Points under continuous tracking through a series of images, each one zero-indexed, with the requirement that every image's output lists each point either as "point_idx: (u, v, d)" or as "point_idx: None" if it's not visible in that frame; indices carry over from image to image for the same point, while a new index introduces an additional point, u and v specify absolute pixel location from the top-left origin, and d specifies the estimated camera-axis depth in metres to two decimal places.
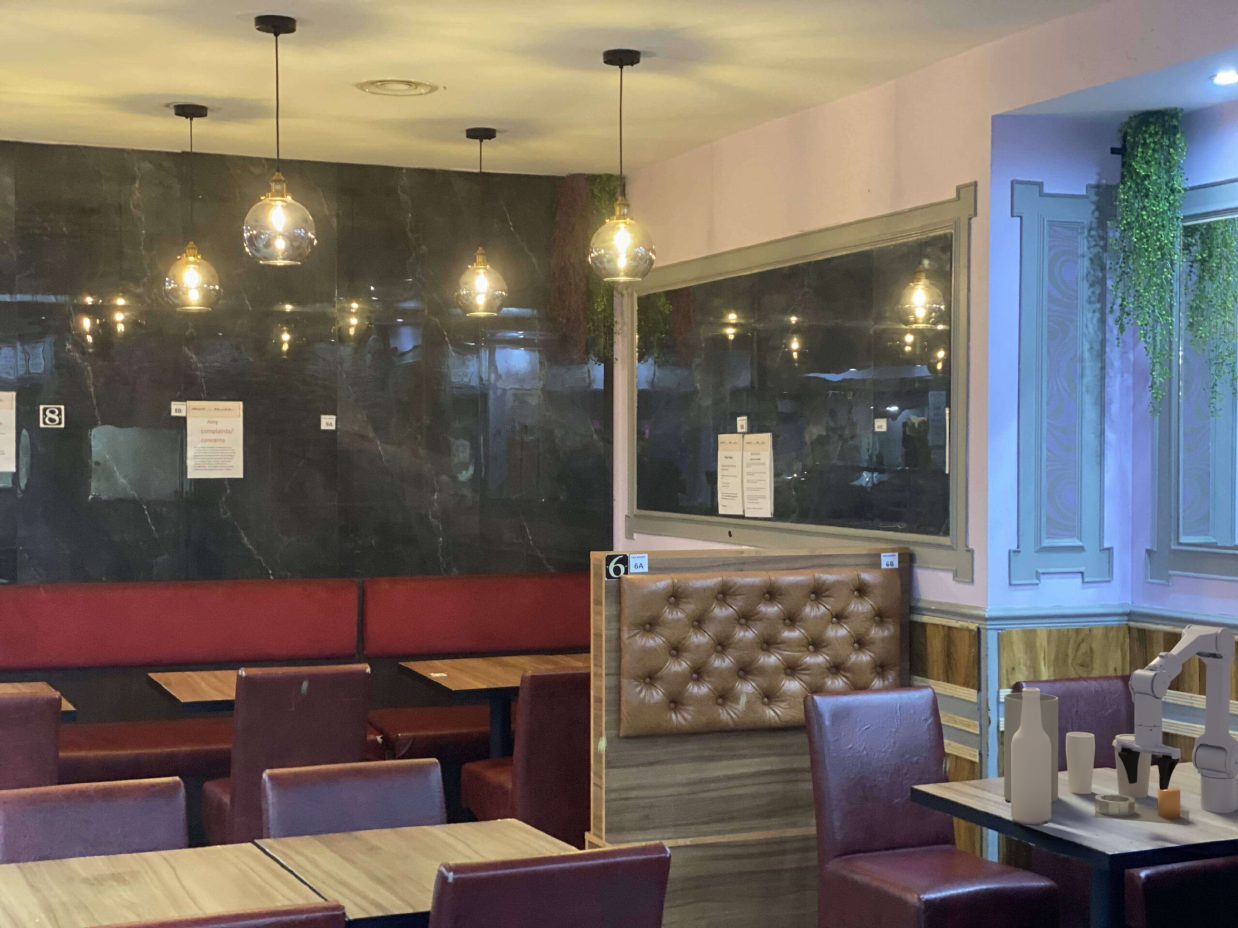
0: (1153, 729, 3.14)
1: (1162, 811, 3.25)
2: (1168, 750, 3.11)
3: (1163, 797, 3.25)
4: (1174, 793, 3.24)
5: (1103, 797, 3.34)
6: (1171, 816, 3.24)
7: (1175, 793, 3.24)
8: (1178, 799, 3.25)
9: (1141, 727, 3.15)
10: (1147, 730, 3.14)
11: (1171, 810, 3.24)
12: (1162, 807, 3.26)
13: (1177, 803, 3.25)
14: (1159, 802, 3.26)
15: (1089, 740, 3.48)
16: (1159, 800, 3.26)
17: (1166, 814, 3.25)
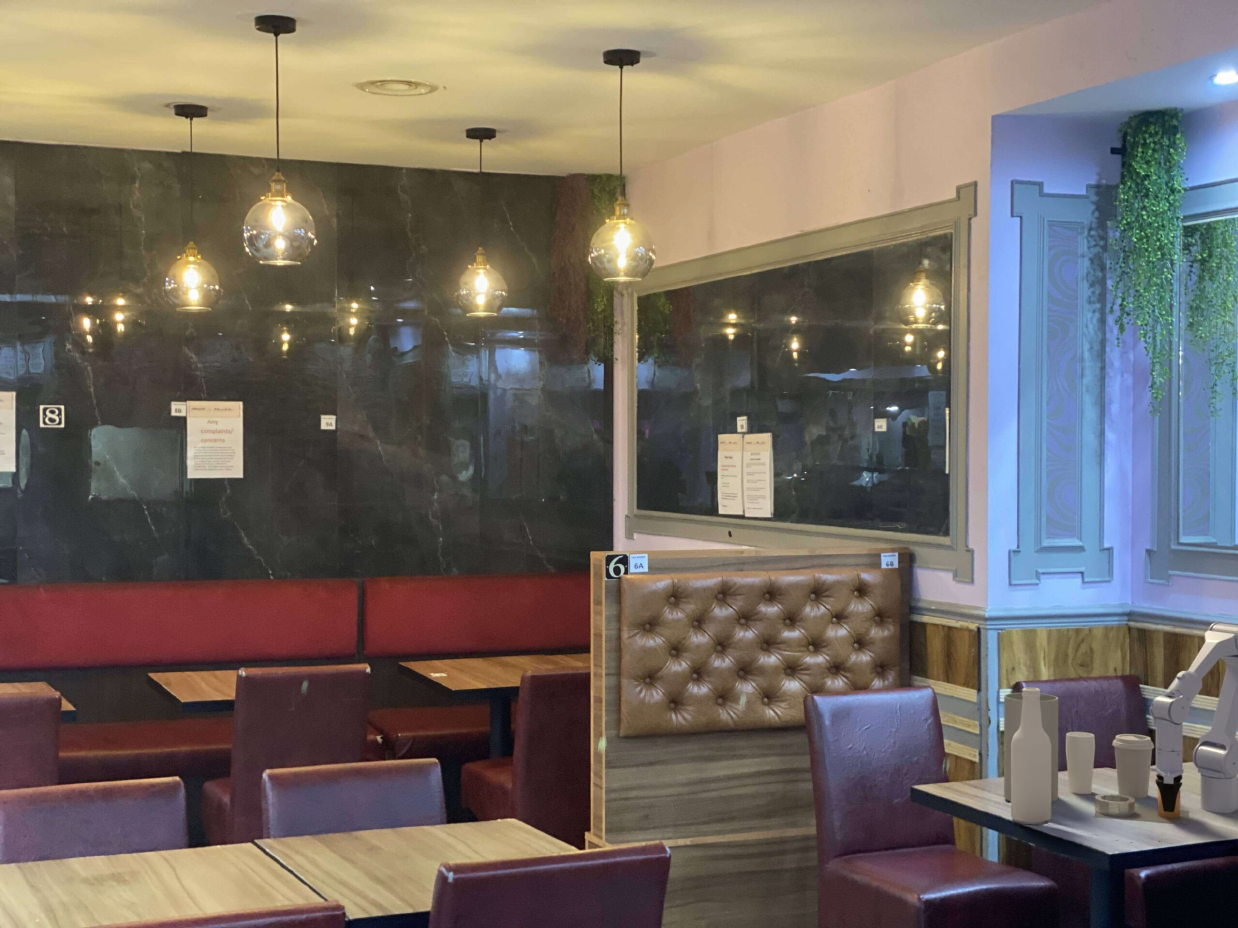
0: (1161, 753, 3.25)
1: (1162, 811, 3.25)
2: (1163, 774, 3.22)
3: None
4: None
5: (1103, 797, 3.34)
6: (1171, 816, 3.24)
7: None
8: (1178, 799, 3.25)
9: None
10: (1157, 753, 3.26)
11: None
12: (1162, 807, 3.26)
13: (1177, 803, 3.25)
14: (1159, 802, 3.26)
15: (1089, 740, 3.48)
16: (1159, 800, 3.26)
17: (1166, 814, 3.25)
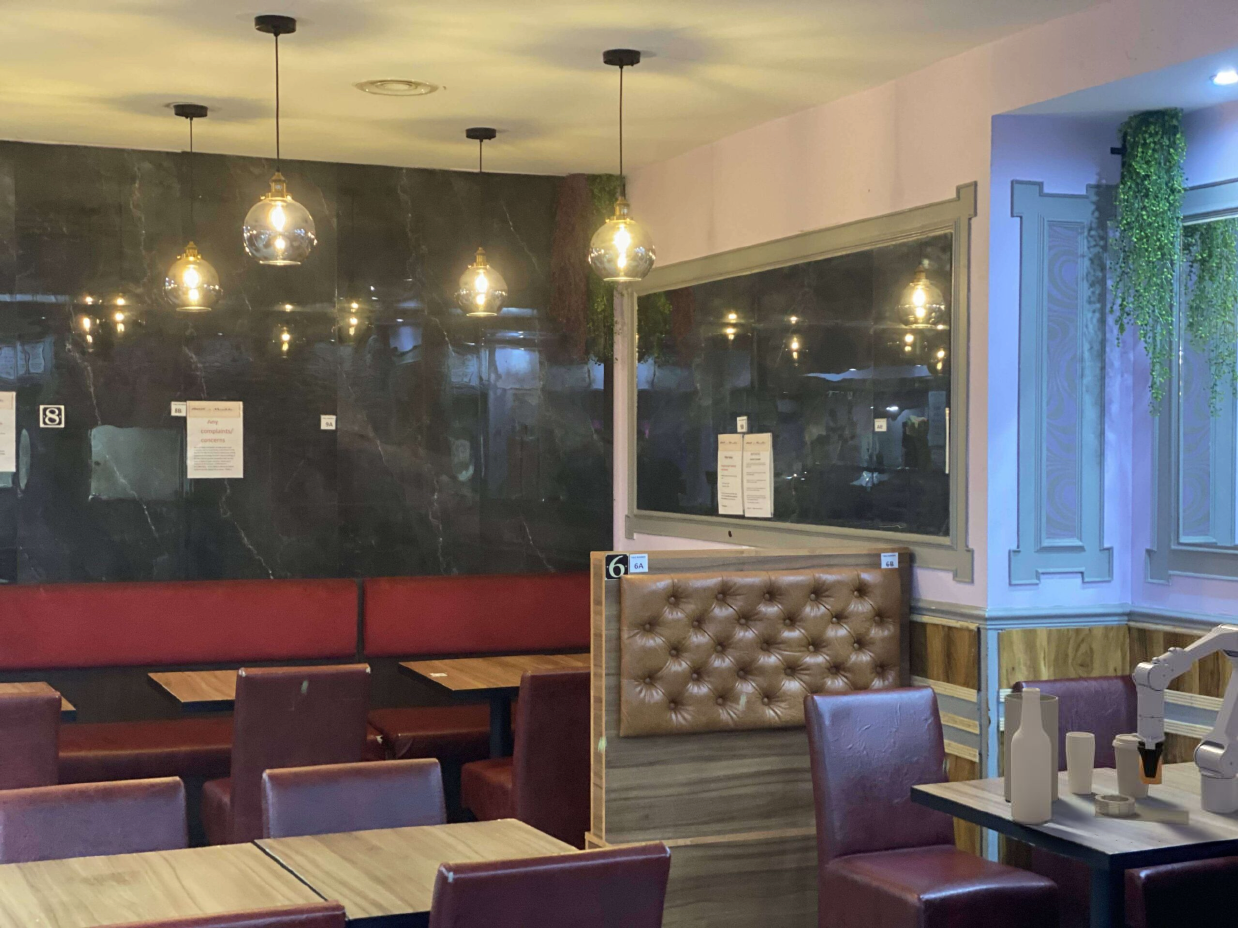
0: (1143, 719, 3.27)
1: (1144, 777, 3.27)
2: (1144, 740, 3.23)
3: None
4: None
5: (1103, 797, 3.34)
6: (1152, 782, 3.26)
7: None
8: (1160, 765, 3.26)
9: None
10: (1139, 719, 3.28)
11: None
12: (1143, 773, 3.27)
13: (1159, 769, 3.26)
14: (1141, 768, 3.28)
15: (1089, 740, 3.48)
16: (1141, 766, 3.28)
17: (1147, 780, 3.26)
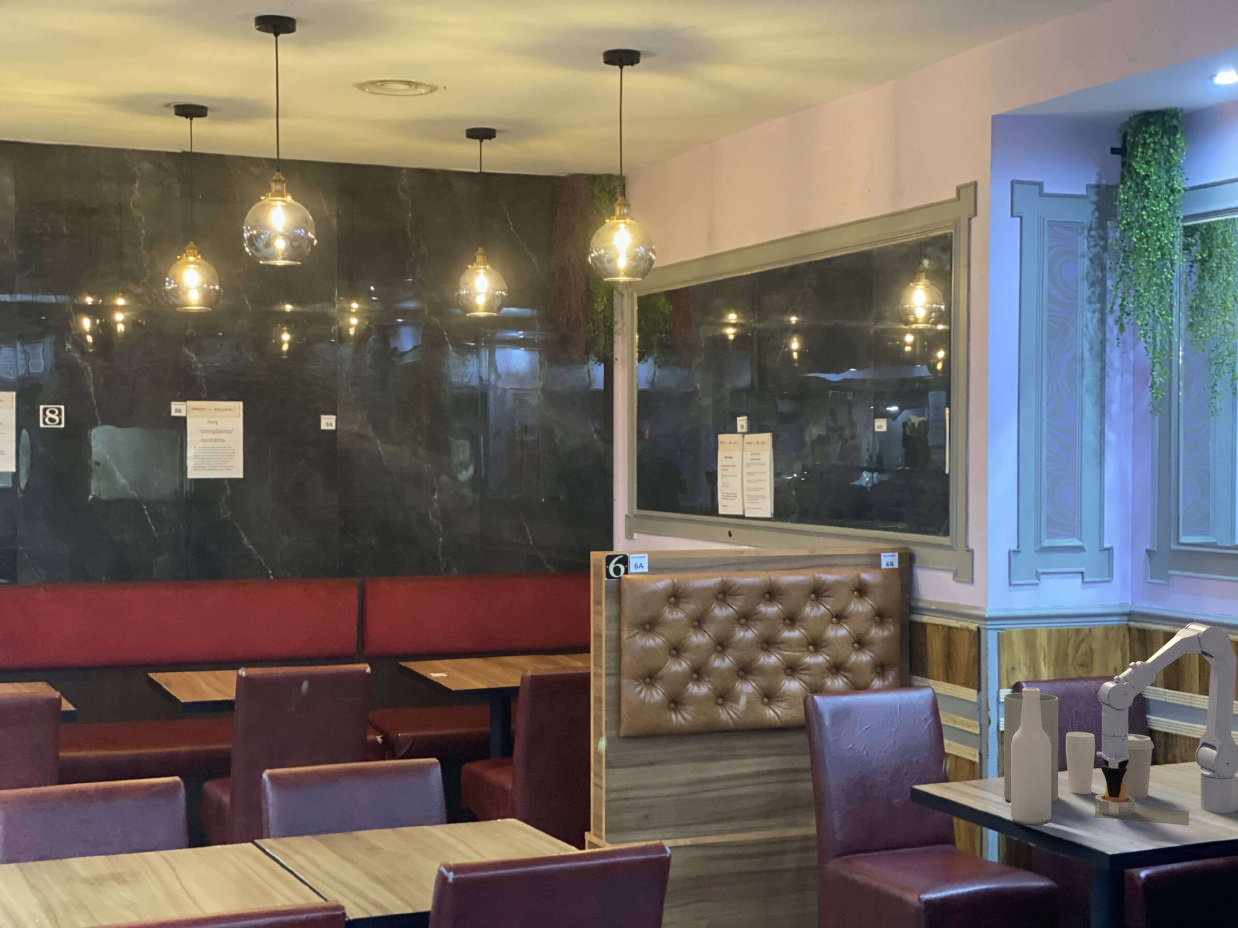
0: (1107, 738, 3.30)
1: None
2: (1108, 759, 3.26)
3: None
4: (1121, 788, 3.29)
5: (1103, 797, 3.34)
6: None
7: (1122, 788, 3.29)
8: (1125, 794, 3.29)
9: (1102, 735, 3.32)
10: (1103, 738, 3.31)
11: None
12: None
13: (1123, 798, 3.29)
14: (1106, 796, 3.31)
15: (1089, 740, 3.48)
16: (1106, 794, 3.31)
17: None
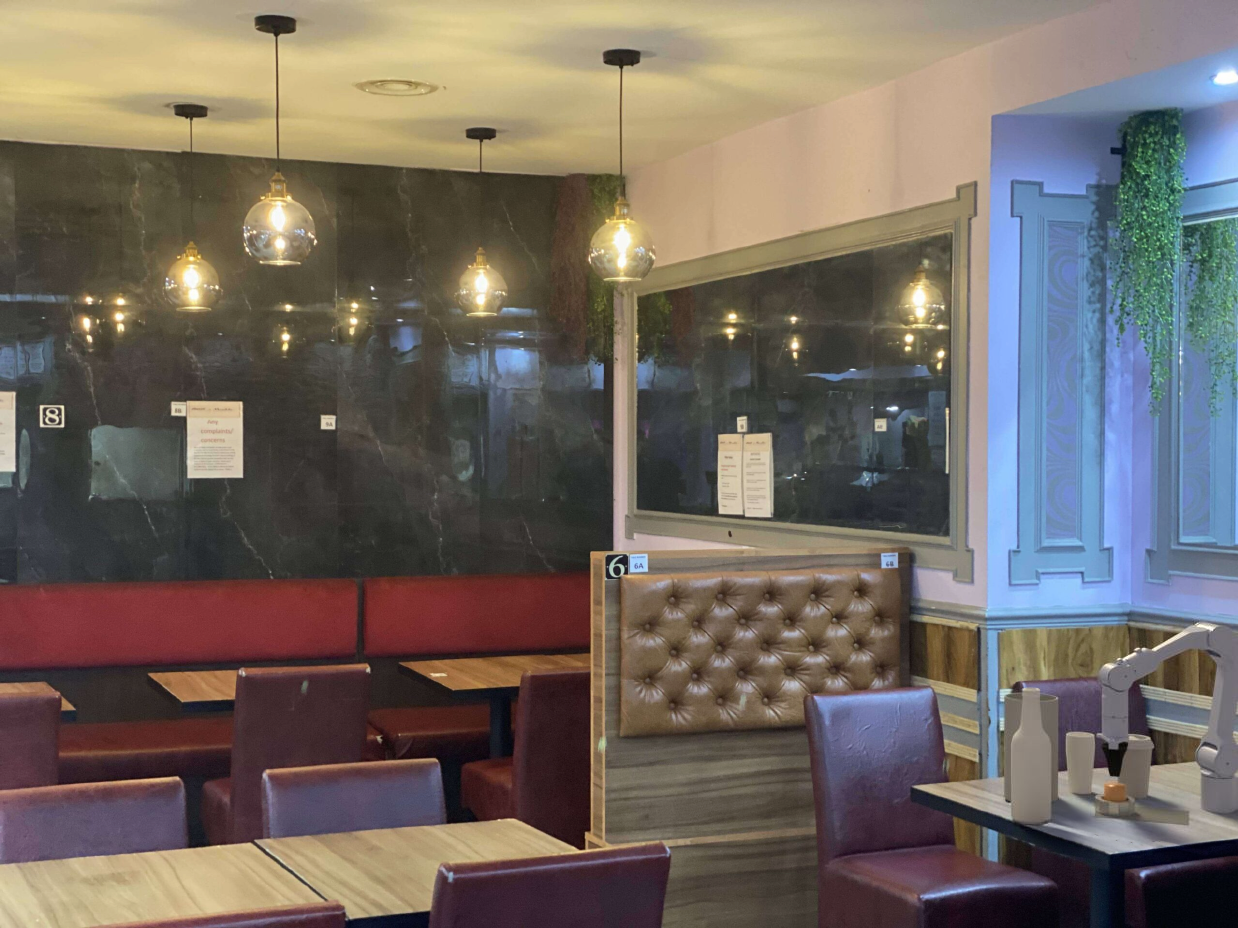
0: (1107, 719, 3.30)
1: None
2: (1108, 740, 3.26)
3: (1109, 793, 3.30)
4: (1119, 789, 3.29)
5: (1103, 797, 3.34)
6: None
7: (1120, 789, 3.29)
8: (1123, 795, 3.29)
9: (1102, 716, 3.32)
10: (1103, 719, 3.31)
11: None
12: None
13: (1122, 798, 3.29)
14: (1105, 797, 3.31)
15: (1089, 740, 3.48)
16: (1105, 795, 3.31)
17: None
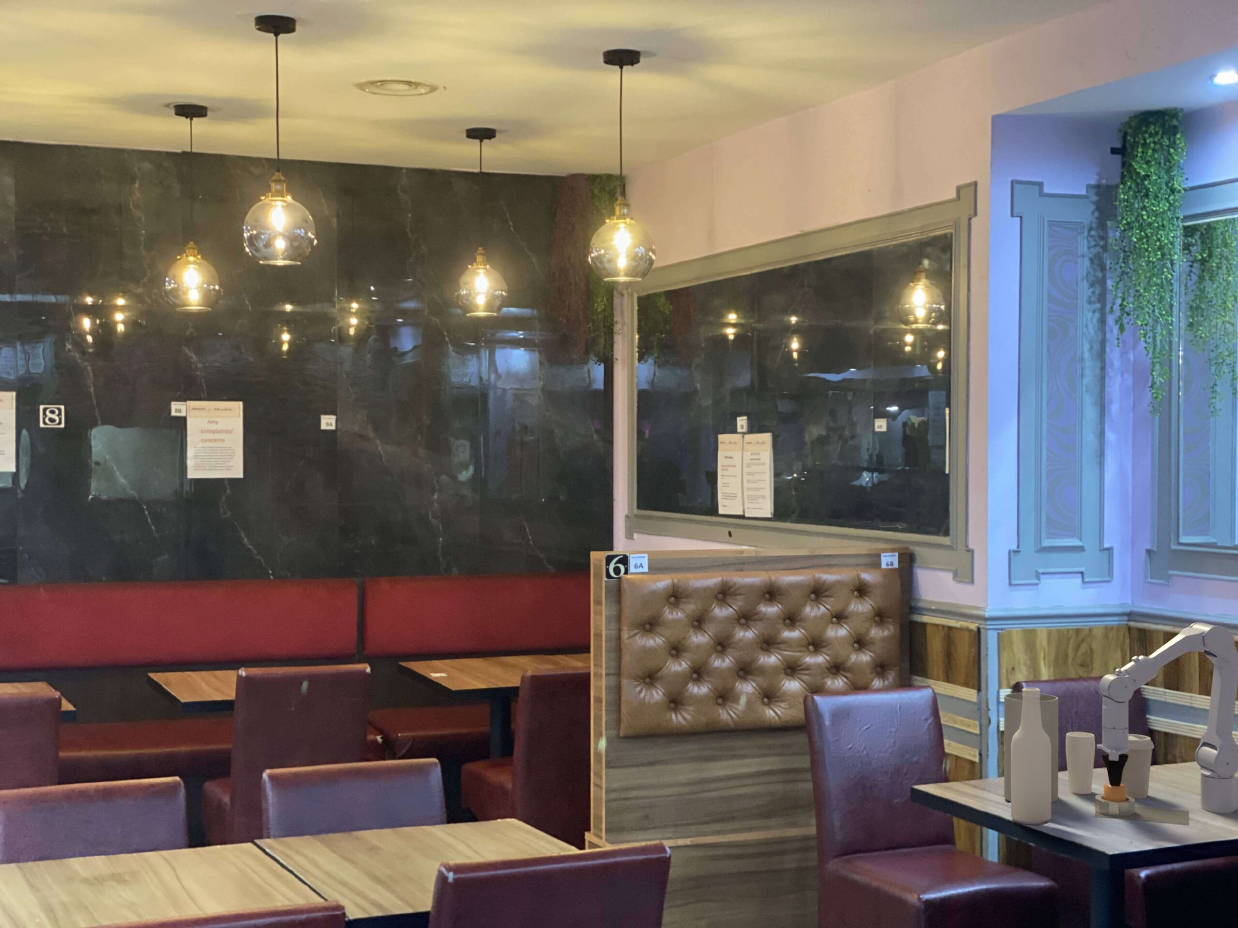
0: (1107, 730, 3.30)
1: None
2: (1108, 751, 3.26)
3: (1108, 793, 3.30)
4: (1118, 788, 3.29)
5: (1103, 797, 3.34)
6: None
7: (1119, 789, 3.29)
8: (1123, 794, 3.29)
9: (1102, 727, 3.32)
10: (1103, 730, 3.31)
11: None
12: None
13: (1122, 798, 3.29)
14: (1104, 797, 3.31)
15: (1089, 740, 3.48)
16: (1104, 795, 3.31)
17: None
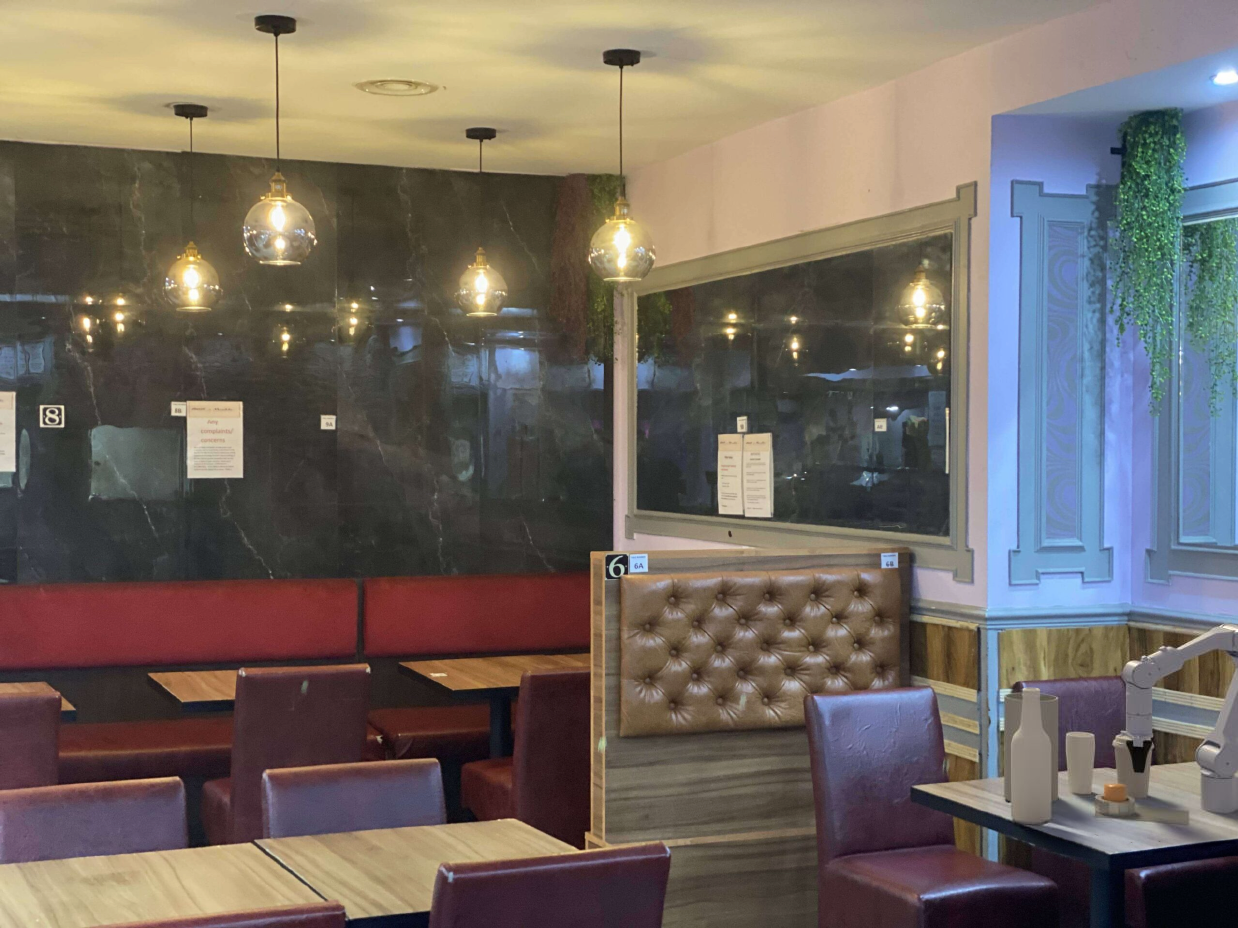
0: (1131, 717, 3.30)
1: None
2: (1132, 737, 3.27)
3: (1108, 793, 3.30)
4: (1119, 789, 3.29)
5: (1103, 797, 3.34)
6: None
7: (1120, 789, 3.29)
8: (1123, 795, 3.29)
9: (1126, 714, 3.33)
10: (1127, 717, 3.31)
11: None
12: None
13: (1122, 798, 3.29)
14: (1105, 797, 3.31)
15: (1089, 740, 3.48)
16: (1105, 795, 3.31)
17: None
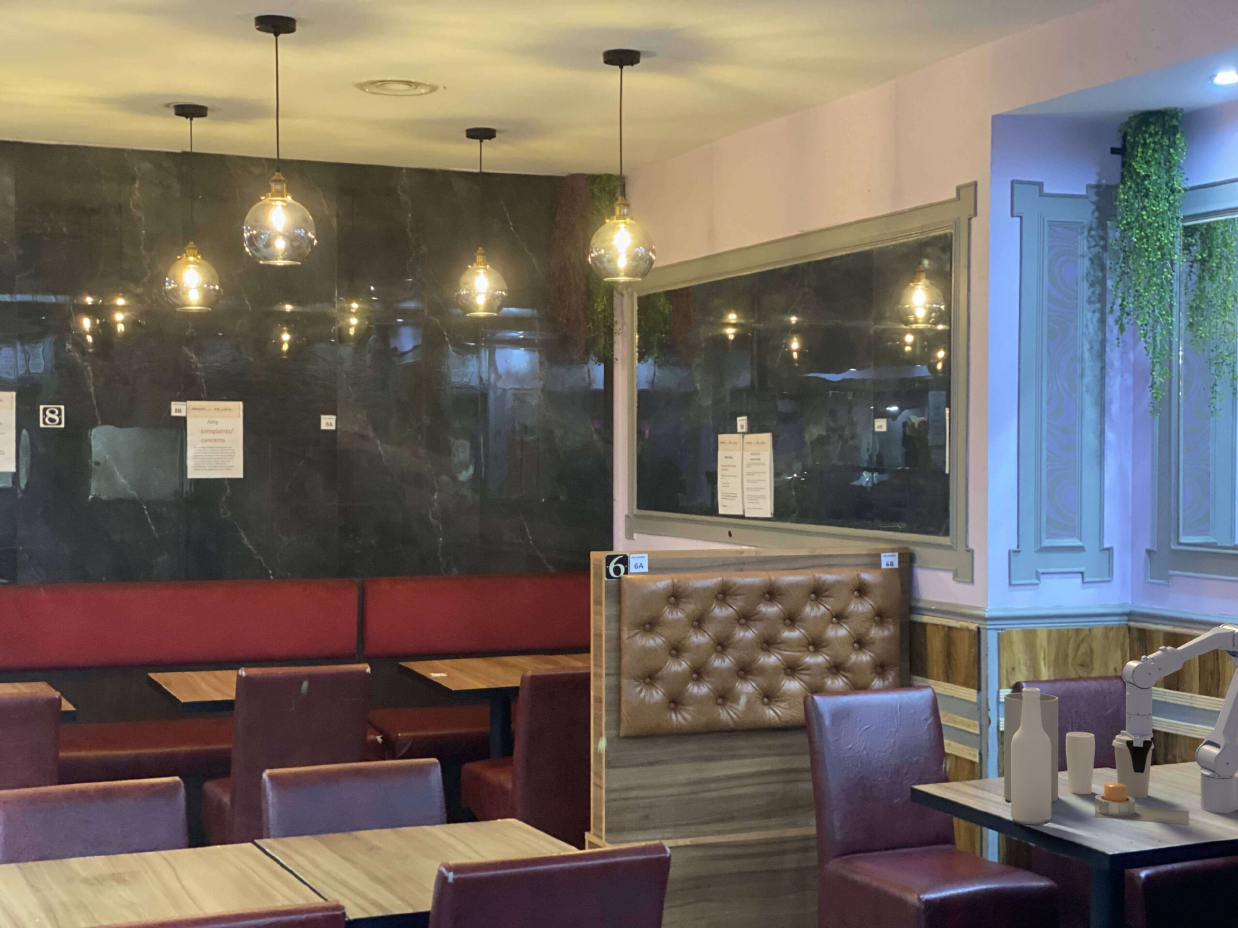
0: (1131, 717, 3.30)
1: None
2: (1132, 737, 3.27)
3: (1109, 793, 3.30)
4: (1119, 789, 3.29)
5: (1103, 797, 3.34)
6: None
7: (1120, 789, 3.29)
8: (1123, 795, 3.29)
9: (1126, 714, 3.33)
10: (1127, 717, 3.31)
11: None
12: None
13: (1122, 798, 3.29)
14: (1105, 797, 3.31)
15: (1089, 740, 3.48)
16: (1105, 795, 3.31)
17: None
